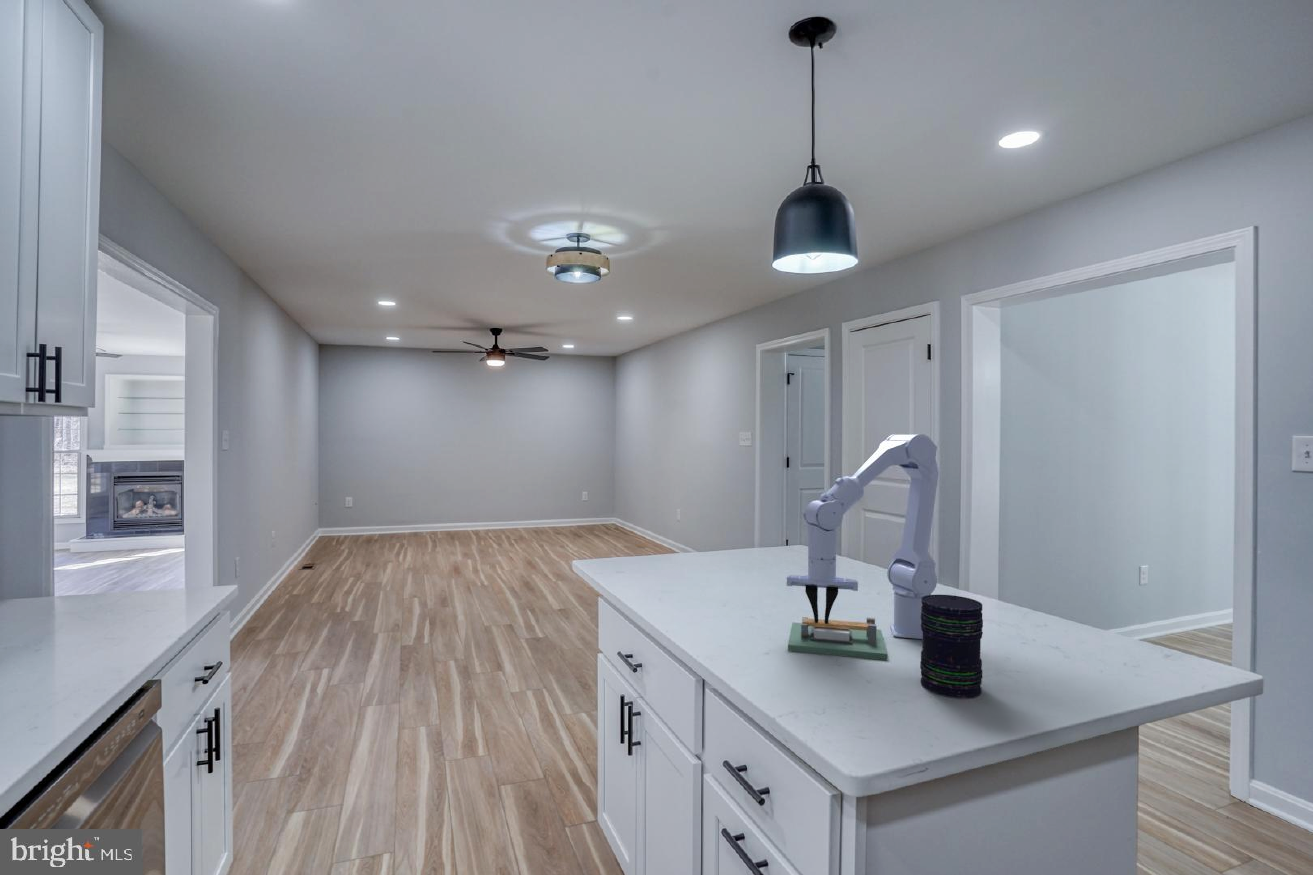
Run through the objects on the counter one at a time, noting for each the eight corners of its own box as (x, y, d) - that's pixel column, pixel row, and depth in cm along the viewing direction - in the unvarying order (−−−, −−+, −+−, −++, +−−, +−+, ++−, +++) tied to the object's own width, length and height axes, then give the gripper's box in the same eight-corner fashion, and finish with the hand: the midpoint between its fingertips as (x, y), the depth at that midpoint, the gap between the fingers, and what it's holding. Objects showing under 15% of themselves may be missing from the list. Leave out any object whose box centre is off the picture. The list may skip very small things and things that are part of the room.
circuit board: (881, 635, 139) (881, 612, 139) (887, 660, 124) (887, 634, 124) (792, 627, 144) (792, 605, 144) (787, 650, 129) (788, 626, 129)
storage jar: (979, 703, 104) (980, 612, 104) (915, 690, 109) (916, 603, 109) (984, 683, 112) (985, 599, 112) (925, 672, 117) (925, 591, 117)
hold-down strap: (873, 630, 133) (874, 622, 133) (874, 635, 130) (874, 626, 130) (802, 625, 137) (802, 617, 137) (802, 629, 134) (802, 621, 134)
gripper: (785, 559, 133) (785, 624, 133) (858, 563, 129) (858, 630, 129) (788, 553, 139) (787, 614, 139) (857, 557, 136) (856, 620, 136)
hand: (821, 621), depth 135 cm, fingers closed on hold-down strap
